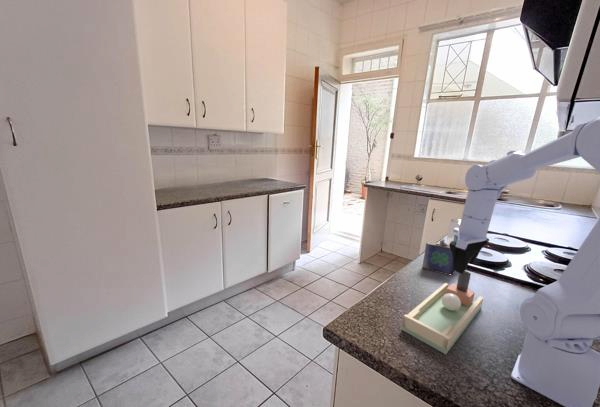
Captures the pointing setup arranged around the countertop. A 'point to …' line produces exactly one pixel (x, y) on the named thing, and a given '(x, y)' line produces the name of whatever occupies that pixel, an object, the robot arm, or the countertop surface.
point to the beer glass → (452, 235)
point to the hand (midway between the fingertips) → (463, 266)
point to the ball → (451, 302)
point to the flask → (438, 257)
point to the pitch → (439, 320)
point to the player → (462, 289)
